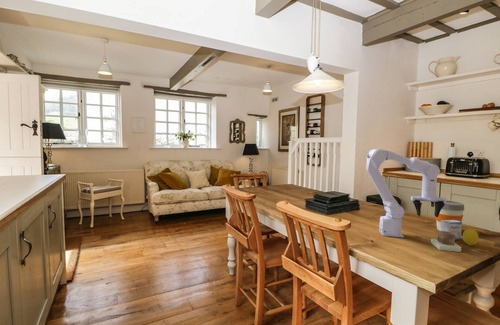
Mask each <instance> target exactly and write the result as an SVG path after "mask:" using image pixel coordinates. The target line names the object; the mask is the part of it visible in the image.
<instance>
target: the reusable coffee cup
mask: <svg viewBox="0 0 500 325" xmlns="http://www.w3.org/2000/svg"><path fill="white" fill-rule="evenodd" d="M433 207H435V204H434V206H433ZM464 211H465V204H464V203H462V202H459V201H452V200H446V203H445V205H444V207H443V208H442V209H441V211H440V213H439V216H438V217H435V216H434V220H435V221H436V230H437V231H440V229H441V221H444V220H457V221H460V222H462V221H463V218H464V215H463V213H464ZM462 223H463V222H462Z"/></svg>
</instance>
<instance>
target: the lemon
mask: <svg viewBox="0 0 500 325" xmlns="http://www.w3.org/2000/svg"><path fill="white" fill-rule="evenodd" d="M461 239H462V240H463V242H464V243H465V244H467V245H468V246H470V247H471V246H473V245H475V244H477V243H478V242H479V239H480V238H479V233H478V232H477V231H476V230H475V229H473V228H471V227H469V228H466V229H464V231H463V232H462V234H461Z"/></svg>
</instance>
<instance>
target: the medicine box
mask: <svg viewBox="0 0 500 325" xmlns="http://www.w3.org/2000/svg"><path fill="white" fill-rule="evenodd" d="M462 225H463V222H460V221H457V220H444V221H441V229H440V230H439V231H447V232H451V233H453V234H454V235H455V241H456V240H457V241H458V240H461V239H462V227H463V226H462Z"/></svg>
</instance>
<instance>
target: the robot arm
mask: <svg viewBox="0 0 500 325" xmlns="http://www.w3.org/2000/svg"><path fill="white" fill-rule="evenodd" d="M390 160H391V161H395V162H397V163H401V164H404V165H406V168H407V169H410V170H412V171H415V172H418V173H421V174H422V182H421V185H422V186H421V195H420V196H419V195H417V196H415V195H411V196H410V200H411V201H412V203H413V206H414V208H415V211H416V216H419V217H421V214H422V213H421V209H422V205H423V203H422V202H431V203H432V202H433V204H434V205H435V206H434V218H435V217H438V216H439V213H440V211H441V209H442V208H443V207H444V205H445V203H446V201H448V200H447V198H445V197H440V196H439V197H438V196H437V184H438V183H437V182H438V181H437V180H438V177H439V175H440V173H441V170H440V168H439V166H438V165H437V164H433V163H430V162H429V161H428V160H427V161H425V160H422V159H420V157H417V156H415V157H413V156H412V157H410V158H408V157H406V156H403V155H400V154H398V153H396V152H393V151H390V150H385V149H382V148H372V149H370V150H369V151H368V153H367V154H366V166H365V167H366V168H365V170H366V172H367V174H368V176H369V177H370V179H371V181H372V183H373V185H374V186H375V188H376V190H377V193H378V194H379V196H380V198H381V200H382V203H383V207H384V211H385V212H386V213H385V215H381V216H380V217H379V225H378V227H379V228H378V231H379V233H380V235H382V236H383V237H385V236H386V237H396V238H404V237H405V236H404V235H403V234H402V222H403V217H404V215H405V208H404V207H403V206H401V204H399V203H398V201H397V200H396V199H395V197H394V196H393V193H392V192H391V190H390V188H389V187H388V185H387V182H386V181H385V180H384V177H383V175H382V174H381V171H379V169H380V167H381V165H382V164H383V163H384V162H385V161H390Z"/></svg>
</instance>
